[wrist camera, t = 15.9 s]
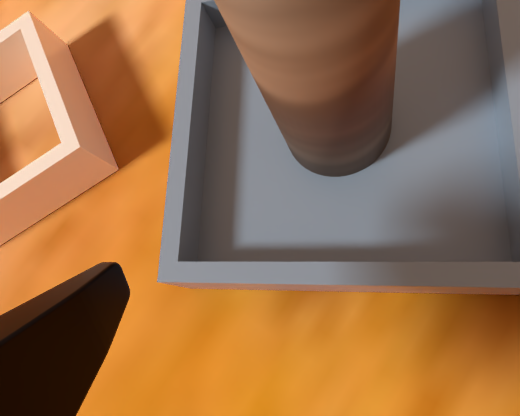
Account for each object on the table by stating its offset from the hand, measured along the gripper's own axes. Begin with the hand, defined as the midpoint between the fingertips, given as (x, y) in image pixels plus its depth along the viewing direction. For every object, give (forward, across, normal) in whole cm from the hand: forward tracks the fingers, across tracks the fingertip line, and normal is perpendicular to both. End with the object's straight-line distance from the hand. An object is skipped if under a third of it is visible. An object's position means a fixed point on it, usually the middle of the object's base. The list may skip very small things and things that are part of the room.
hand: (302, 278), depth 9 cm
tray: (+11, 0, +1) cm, 11 cm away
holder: (+12, +18, 0) cm, 21 cm away
